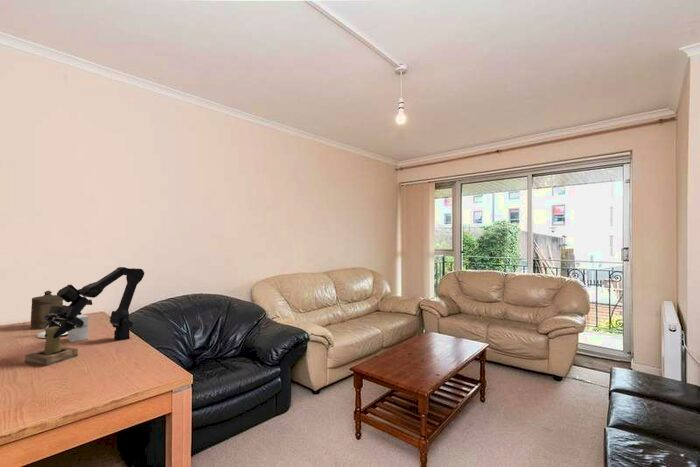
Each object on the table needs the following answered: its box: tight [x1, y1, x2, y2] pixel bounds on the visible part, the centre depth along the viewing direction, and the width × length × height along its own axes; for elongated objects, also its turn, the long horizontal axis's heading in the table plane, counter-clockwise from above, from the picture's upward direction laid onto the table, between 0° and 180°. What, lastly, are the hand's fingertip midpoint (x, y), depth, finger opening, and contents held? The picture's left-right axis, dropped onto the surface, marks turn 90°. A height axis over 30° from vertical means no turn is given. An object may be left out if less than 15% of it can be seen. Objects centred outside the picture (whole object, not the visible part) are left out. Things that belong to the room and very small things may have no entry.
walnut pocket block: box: [24, 346, 79, 367], centre depth 153 cm, size 13×13×4 cm
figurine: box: [36, 313, 68, 339], centre depth 193 cm, size 20×18×16 cm
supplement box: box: [67, 314, 89, 343], centre depth 183 cm, size 7×7×13 cm
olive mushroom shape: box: [43, 326, 62, 353], centre depth 154 cm, size 6×6×11 cm
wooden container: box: [30, 290, 64, 330], centre depth 208 cm, size 15×15×22 cm
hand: (49, 337), depth 152 cm, fingers closed on olive mushroom shape, 5 cm apart
